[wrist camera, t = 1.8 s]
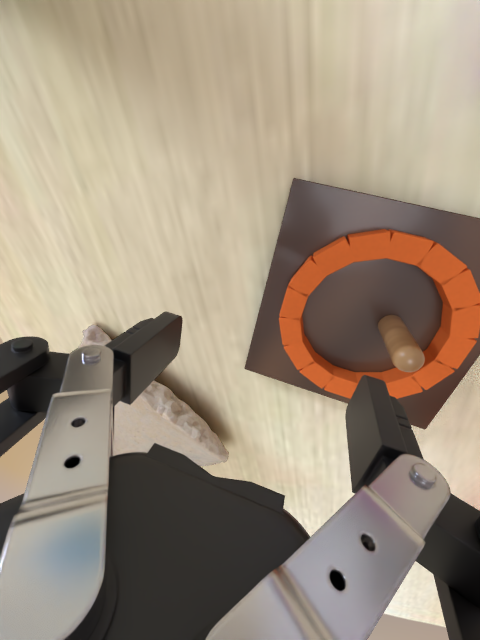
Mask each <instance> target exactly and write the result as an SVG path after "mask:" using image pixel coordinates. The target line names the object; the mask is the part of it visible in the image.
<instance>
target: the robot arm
mask: <svg viewBox="0 0 480 640" xmlns="http://www.w3.org/2000/svg"><path fill="white" fill-rule="evenodd" d="M181 330H182V317H181V316H179V315H175V314H172V313H169V312H163V313H162V314H161V315H159V316H158V317H156V318H155V319H153V318H150V319H147V320H144V321H140V322H139V323H137V324H136V325H134V326H133V328H130V329H128V330H127V331H126V332H124V333H122V334H121V335H119V336H118V337H116V338H115V339H113V340H112V341H110V342H109V343H107V344H106V345H104V346H102V345H87V346H83V347H80V348H77V349H75V350H74V351H72V352H71V353H70V354H65V353H56V352H49V346H48V342H47V341H46V340H44V339H42V338H39V337H20V338H16V339H12V340H9V341H7V342H5V343H3V344H1V345H0V394H1V393H2V392H4V391H5V390H7V391H8V396H9V398H8V399H7V400H5V401H3V402H2V403H1V404H0V456H2V455H3V454H4V453H5V452H6V451H8V450H9V449H10V448H11V447H12V446H13V445H15V444H16V443H17V442H18V441H19V440H20V439H22V438H23V437H24V436H25V435H26V434H27V433H29V432H30V431H31V430H32V429H33V428H35V427H36V426H37V425H38V424H39V423H40V422H42V421H43V420H44V419H45V418H46V419H45V422H44V426H43V429H42V433H41V436H40V440H39V444H38V447H37V451H36V454H35V458H34V461H33V465H32V469H31V472H30V476H29V480H28V483H27V487H26V490H25V493H24V494H22V495H19V496H17V497H15V498H12V499H10V500H8V501H5V502H3V503H0V640H367V639H368V638H369V636H370V634H371V633H372V631H373V629H374V627H375V626H376V624H377V623H378V621H379V619H380V618H381V616H382V614H383V613H384V611H385V610H386V608H387V606H388V605H389V603H390V601H391V600H392V598H393V596H394V595H395V593H396V592H397V590H398V588H399V587H400V585H401V583H402V582H403V580H404V578H405V577H406V575H407V573H408V572H409V570H410V569H411V567H412V565H413V564H414V562H415V561H417V562H418V563H419V564H421V565H422V566H423V567H425V568H426V569H427V570H429V571H430V572H431V573H433V574H434V578H435V582H436V587H437V591H438V595H439V599H440V603H441V607H442V612H443V616H444V620H445V624H446V628H447V632H448V636H449V640H480V511H479V510H477V509H475V508H474V507H472V506H470V505H469V504H467V503H466V502H464V501H462V500H461V499H459V498H457V497H456V496H454V495H453V494H451V493H450V488H449V485H448V483H447V481H446V480H445V478H444V477H443V476H442V475H441V473H440V472H439V471H438V470H437V469H436V468H435V467H433V466H432V465H431V464H430V463H428V462H427V461H425V460H424V459H423V457H422V454H421V451H420V449H419V446H418V443H417V441H416V438H415V435H414V433H413V430H411V428H412V427H411V425H410V422H409V421H408V417H407V414H406V412H405V409H404V407H403V406H402V405H401V404H400V402H399V401H398V400H397V399H396V398H395V397H393V396H390V395H389V392H388V389H387V386H386V383H385V381H383V380H380V379H377V378H374V377H371V376H368V375H363V376H362V377H361V379H360V381H359V383H358V385H357V387H356V389H355V391H354V393H353V395H352V397H351V399H350V401H349V403H348V406H347V409H346V429H347V439H348V450H349V461H350V472H351V482H352V492H353V493H356V494H355V495H354V496H353V497H352V498H351V499H350V500H348V501H347V502H346V503H345V504H344V505H343V506H342V507H341V508H340V509H339V510H338V511H337V512H336V513H335V514H334V515H333V516H332V517H331V518H330V519H329V520H328V521H327V522H326V523H325V524H324V525H323V526H322V527H321V528H320V529H318V530H317V531H316V532H315V533H314V534H313V535H312V536H311V537H310V536H309V534H308V533H307V532H306V530H305V529H304V528H303V527H302V525H301V524H300V523H299V522H298V521H297V520H296V519H295V518H294V517H293V516H292V515H291V514H290V513H289V512H287V511H286V510H285V509H283V505H284V498H285V496H284V495H282V494H279V493H277V492H274V491H272V490H270V489H267V488H265V487H262V486H260V485H257V484H255V483H252V482H248V481H241V480H234V479H227V478H220V477H215V476H212V475H211V474H209V473H208V472H207V471H205V470H204V469H203V468H201V467H200V466H199V465H197V464H196V463H195V462H193V461H192V460H191V459H189V458H188V457H187V456H185V455H183V454H181V453H179V452H176V451H174V450H171V449H169V448H166V447H164V446H161V445H159V444H156V443H154V444H153V446H152V447H151V448H150V450H149V451H148V453H147V452H130V453H123V454H118V455H115V456H114V426H115V405H116V404H117V403H118V402H119V401H121V402H123V403H126V404H129V405H131V404H132V403H133V402H134V401H135V400H136V399H137V397H138V396H139V395H140V394H141V393H142V392H143V391H144V390H145V389H146V388H147V387H148V386H149V385H150V384H151V383H152V382H153V381H154V379H155V378H156V377H157V376H158V375H159V374H160V373H161V372H162V371H163V370H164V369H165V368H166V367H167V366H168V365H169V364H170V362H171V361H172V360H173V359H174V358H175V357H176V355H177V353H178V351H179V347H180V339H181Z"/></svg>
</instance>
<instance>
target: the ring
mask: <svg viewBox="0 0 480 640" xmlns="http://www.w3.org/2000/svg"><path fill="white" fill-rule="evenodd" d="M347 237H348V242H347V240H346V238H345V236H343V237H341V238H339V239H338V240H336V241H334V242H332V243H330V244H329V245H327V246H325V247H323V248H321V249H320V250H318V251H316V252H314V253H313V256H310V257H309V258H308V259H307V260H306V261H305V263H304V264H303V265H302V266H301V268H300V269H299V270H298V271H297V272H296V274H295V275H294V276H293V277H292V278H291V281H290V282H289V284H288V287H287V290H286V293H285V297H284V300H283V304H282V307H281V310H280V314H279V316H280V317H279V323H280V331H281V338H282V344H283V345H284V349H285V351H286V352H287V354H288V356H289V357H290V359H291V360H292V362H293V364H294V365H295V367H296V369H297V370H299V369H300V373H301V374H303V375H304V376H305V377H307V378H308V379H309V380H311V381H312V382H313V383H314V384H316V385H317V386H318V387H320V388H321V389H322V388H323V387H324V390H325V391H328V392H331V393H334V394H337V395H340V396H343V397H346V398H349V399H351V397H352V395H353V393H354V391H355V389H356V387H357V385H358V383H359V381H360V379H361V377H362V376H363V375H368V376H371V377H374V378H377V379H380V380H383V381H385V383H386V386H387V389H388V392H389V395H390V396H393V397H395V398H396V399H398V398H402V397H405V396H409V395H413V394H417V393H420V392H423V390H422V388H421V387H423V388H424V389H425V390H428V389H429V388H431V387H432V386H434V385H435V384H437V383H438V382H440V381H441V380H443V379H444V378H446V377H447V376H449V375H450V374H452V373H453V372H455V371H454V369H453V368H455V369H458V368H459V366H460V365H461V364H462V362H463V361H464V359H465V358H466V356H467V355H468V354H469V352H470V351H471V349H472V348H473V347H474V345H475V344H476V342H477V341H476V340H475V339H474V338H478V337H479V330H480V293H479V290H478V288H477V285H476V283H475V280H474V278H473V275H472V273H471V270H470V269H468V268H467V265H465V264H464V263H463V262H462V261H460V260H459V259H458V258H457V257H455V256H454V255H453V254H451V253H450V252H449V251H448V250H446V249H445V248H444V247H443V246H441V245H440V244H439V243H437V242H434V241H432V240H430V239H427V238H425V237H421V236H417V235H412V234H408V233H404V232H399V231H395V230H391V229H389V230H386V229H381V230H374V231H368V232H361V233H355V234H348V235H347ZM385 258H387V259H391V260H395V261H399V262H403V263H407V264H411V265H415V266H417V267H419V268H420V269H421V270H422V271H424V272H425V273H426V274H428V275H429V276H430V277H431V278H432V279H433V281H434V283H435V285H436V288H437V290H438V292H439V294H440V297H441V299H442V301H443V308H442V318H441V327H440V328H439V330H438V332H437V333H436V335H435V337H434V338H433V340H432V341H431V343H430V345H429V346H428V348H427V349H426V350H425V351H423V354H424V357H425V361H424V364H423V366H422V367H421V368H420V369H419V370H417V371H415V372H404V371H401V370H399V369H398V368H393V369H390V370H387V371H383V372H352V371H349V370H346V369H343V368H340V367H337V366H334V365H332V364H331V363H329V362H328V361H327V360H325V359H324V358H323V357H321V356H320V355H319V354H317V353H316V352H315V351H314V349H313V348H312V346H311V344H310V342H309V341H308V339H307V337H306V336H305V334H304V328H303V319H302V313H303V311H304V308H305V305H306V302H307V299H308V296H309V295H310V294H311V293H312V292H313V291H314V290H315V288H316V287H317V286H318V285H319V284H320V283H321V282H322V281H323V280H324V278H325V277H326V276H328V275H330V274H332V273H334V272H336V271H338V270H340V269H342V268H344V267H345V266H347V265H349V264H351V263H353V262H361V261H369V260H377V259H385Z"/></svg>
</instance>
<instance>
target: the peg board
mask: <svg viewBox="0 0 480 640" xmlns="http://www.w3.org/2000/svg"><path fill="white" fill-rule="evenodd" d="M381 229H386V230H389V229H391V230H395V231H399V232H404V233H408V234H412V235H417V236H421V237H425V238H427V239H430V240H432V241H434V242H437V243H439V244H440V245H441V246H443V247H444V248H445V249H446V250H448V251H449V252H450V253H451V254H453V255H454V256H455V257H457V258H458V259H459V260H460V261H462V262H463V263H464V264H465V265H467V268H468V269H470V270H471V273H472V275H473V278H474V280H475V283H476V285H477V288H478V290H479V293H480V219H479V218H475V217H470V216H466V215H461V214H456V213H452V212H447V211H443V210H438V209H434V208H429V207H424V206H420V205H415V204H411V203H406V202H401V201H397V200H392V199H388V198H383V197H378V196H374V195H369V194H365V193H360V192H355V191H351V190H346V189H342V188H337V187H332V186H328V185H323V184H319V183H314V182H310V181H305V180H300V179H296V178H294V179H293V182H292V186H291V190H290V194H289V198H288V201H287V205H286V209H285V213H284V217H283V221H282V225H281V229H280V233H279V236H278V240H277V244H276V248H275V252H274V256H273V260H272V264H271V268H270V272H269V275H268V279H267V283H266V287H265V291H264V295H263V299H262V303H261V307H260V310H259V314H258V318H257V322H256V326H255V330H254V334H253V338H252V342H251V345H250V349H249V353H248V357H247V361H246V365H245V369H247V370H250V371H253V372H256V373H259V374H262V375H265V376H268V377H271V378H274V379H277V380H279V381H282V382H285V383H288V384H291V385H294V386H297V387H300V388H303V389H306V390H309V391H312V392H315V393H318V394H321V395H324V396H327V397H330V398H333V399H336V400H339V401H342V402H345V403H349V401H350V399H349V398H346V397H343V396H340V395H337V394H334V393H331V392H328V391H325V390H324V387H323V388H322V389H321V388H320V387H318V386H317V385H316V384H314V383H313V382H312V381H311V380H309V379H308V378H307V377H305V376H304V375H303V374H301V373H300V369H299V370H297V369H296V367H295V365H294V364H293V362H292V360H291V359H290V357H289V356H288V354H287V352H286V351H285V349H284V345H283V344H282V338H281V331H280V323H279V317H280V316H279V314H280V310H281V307H282V304H283V300H284V297H285V293H286V290H287V287H288V284H289V282H290V281H291V278H292V277H293V276H294V275H295V274H296V272H297V271H298V270H299V269H300V268H301V266H302V265H303V264H304V263H305V261H306V260H307V259H308V258H309V257H310V256H313V253H314V252H316V251H318V250H320V249H321V248H323V247H325V246H327V245H329V244H330V243H332V242H334V241H336V240H338V239H339V238H341V237H343V236H345V238H346V240H347V242H348V237H347V235H348V234H355V233H361V232H368V231H374V230H381ZM442 308H443V301H442V299H441V297H440V294H439V292H438V290H437V288H436V285H435V283H434V281H433V279H432V278H431V277H430V276H429V275H428V274H426V273H425V272H424V271H422V270H421V269H420V268H419V267H417V266H415V265H411V264H407V263H403V262H399V261H395V260H391V259H387V258H385V259H377V260H369V261H361V262H353V263H351V264H349V265H347V266H345V267H344V268H342V269H340V270H338V271H336V272H334V273H332V274H330V275H328V276H326V277H325V278H324V280H323V281H322V282H321V283H320V284H319V285H318V286H317V287H316V288H315V290H314V291H313V292H312V293H311V294H310V295H309V296H308V299H307V302H306V305H305V308H304V311H303V313H302V319H303V328H304V334H305V336H306V337H307V339H308V341H309V342H310V344H311V346H312V348H313V349H314V351H315V352H316V353H317V354H319V355H320V356H321V357H323V358H324V359H325V360H327V361H328V362H329V363H331V364H332V365H334V366H337V367H340V368H343V369H346V370H349V371H352V372H383V371H387V370H390V369H393V368H398V369H399V370H401V371H404V372H415V371H417V370H419V369H420V368H421V367H422V366H423V364H424V361H425V357H424V354H423V351H425V350H426V349H427V348H428V346H429V345H430V343H431V341H432V340H433V338H434V337H435V335H436V333H437V332H438V330H439V328H440V327H441V318H442ZM474 339H475V340H476V341H477V342H476V344H475V345H474V347H473V348H472V349H471V351H470V352H469V354H468V355H467V356H466V358H465V359H464V361H463V362H462V364H461V365H460V366H459V368H458V369H455V368H453V369H454V371H455V372H453V373H452V374H450V375H449V376H447V377H446V378H444V379H443V380H441V381H440V382H438V383H437V384H435V385H434V386H432V387H431V388H429V389H428V390H425V389H424V388H423V387H421V388H422V390H423V392H420V393H417V394H413V395H409V396H405V397H402V398H398V399H397V400H398V401H399V402H400V404H401V405H402V406H403V407H404V409H405V412H406V414H407V417H408V421H409V422H410V424H411V425H413V426H416V427H419V428H422V429H426V428H427V426H428V425H429V424H430V422H431V421H432V420H433V418H434V417H435V415H436V414H437V413H438V411H439V410H440V409H441V407H442V406H443V404H444V403H445V402H446V400H447V399H448V398H449V396H450V395H451V394H452V392H453V391H454V389H455V388H456V387H457V385H458V384H459V383H460V381H461V380H462V378H463V377H464V376H465V374H466V373H467V372H468V370H469V369H470V367H471V366H472V365H473V363H474V362H475V361H476V359H477V358H478V356H479V355H480V330H479V337H478V338H474Z"/></svg>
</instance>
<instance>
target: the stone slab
mask: <svg viewBox="0 0 480 640" xmlns="http://www.w3.org/2000/svg"><path fill="white" fill-rule="evenodd" d="M83 335H84V337H83V339H82V342H81V344H80V345H79V347H78V348H80V347H83V346H87V345H102V346H104V345H106V344H107V343H109V342H110V341H112V340H111V339H110V337H109V336H108V335H107V334H105V333H104V331H103V330H102V329H101V328H100V327H98V326H97V325H91V326H89V327H88V328H87V329H86V330H84V331H83ZM154 443H156V444H159V445H161V446H164V447H166V448H169V449H171V450H174V451H176V452H179V453H181V454H183V455H185V456H187V457H188V458H189V459H191V460H192V461H193V462H195V463H196V464H197V465H199V466H205V465H213V464H216V463H221V462H226V461H227V459H228V454H229V452H228V451H227V450H226V449H225V447H224V445H223V444H222V442H221V441H220V439H219V438H218V437H217V434H215V433H214V432H213V431H211V430H210V427H209V426H208V424H207V423H206V422H205V421H204V420H203V419H202V418H201V417H200V416H198V415H197V414H196V413H195V412H194V411H193V410H192V409H191V408H190V406H189V405H187V404H186V403H185V402H184V401H181V400H179V399H178V398H177V397H176V396H175V395H174V393H173V392H172V391H171V390H170V389H169V388H167V387H166V386H164V385H162V384H160V383H158V382H156V381H153V382H152V383H151V384H150V385H149V386H148V387H147V388H146V389H145V390H144V391H143V392H142V393H141V394H140V395H139V396H138V397H137V399H136V400H135V401H134V402H133V403H132V404H131V405H129V404H126V403H123V402H121V401H119V402H118V403H117V404H116V405H115V426H114V456H115V455H118V454H123V453H130V452H147V453H148V451H149V450H150V448H151V447H152V446H153V444H154Z"/></svg>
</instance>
